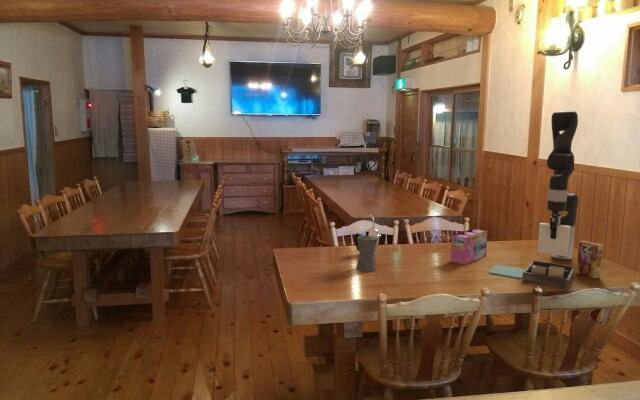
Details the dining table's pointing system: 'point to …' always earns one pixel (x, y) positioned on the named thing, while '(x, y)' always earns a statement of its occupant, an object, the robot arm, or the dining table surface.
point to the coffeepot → (366, 252)
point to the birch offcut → (556, 271)
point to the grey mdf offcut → (539, 270)
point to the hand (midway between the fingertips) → (553, 237)
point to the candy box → (589, 259)
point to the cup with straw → (374, 234)
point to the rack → (547, 279)
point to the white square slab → (553, 240)
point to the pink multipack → (468, 246)
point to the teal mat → (507, 271)
